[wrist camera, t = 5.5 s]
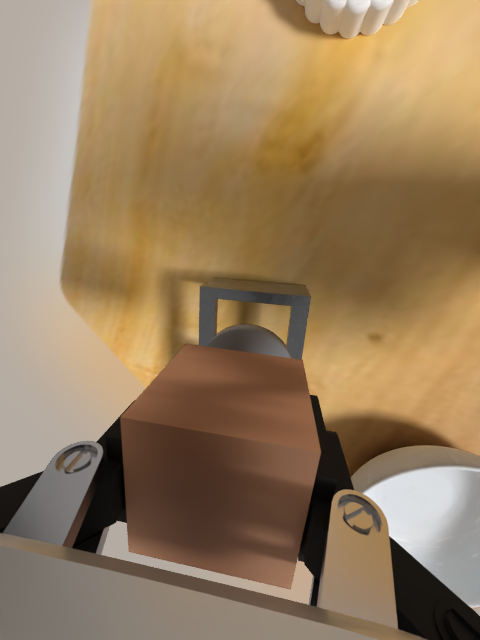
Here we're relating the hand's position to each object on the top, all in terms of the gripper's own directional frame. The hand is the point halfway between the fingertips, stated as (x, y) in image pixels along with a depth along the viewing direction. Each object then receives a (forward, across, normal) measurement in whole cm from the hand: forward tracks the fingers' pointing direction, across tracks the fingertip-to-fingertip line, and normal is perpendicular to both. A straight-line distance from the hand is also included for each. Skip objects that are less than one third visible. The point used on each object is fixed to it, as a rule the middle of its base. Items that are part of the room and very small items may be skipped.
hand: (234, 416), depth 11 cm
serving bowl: (+20, -22, +22) cm, 37 cm away
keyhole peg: (+4, 0, 0) cm, 4 cm away
